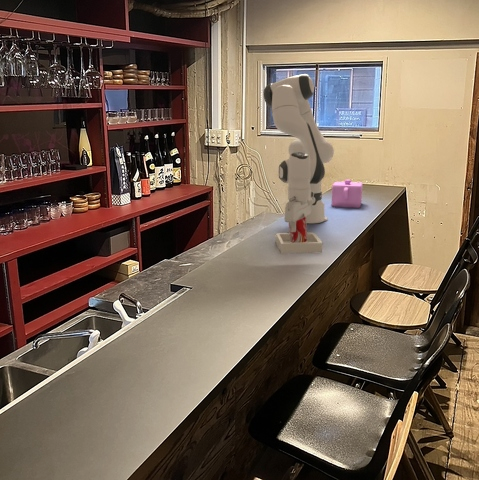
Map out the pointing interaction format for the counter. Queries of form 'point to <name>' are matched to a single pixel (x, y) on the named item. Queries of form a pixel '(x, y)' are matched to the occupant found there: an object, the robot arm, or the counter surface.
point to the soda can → (299, 231)
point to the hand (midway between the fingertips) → (298, 229)
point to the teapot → (347, 194)
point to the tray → (298, 244)
